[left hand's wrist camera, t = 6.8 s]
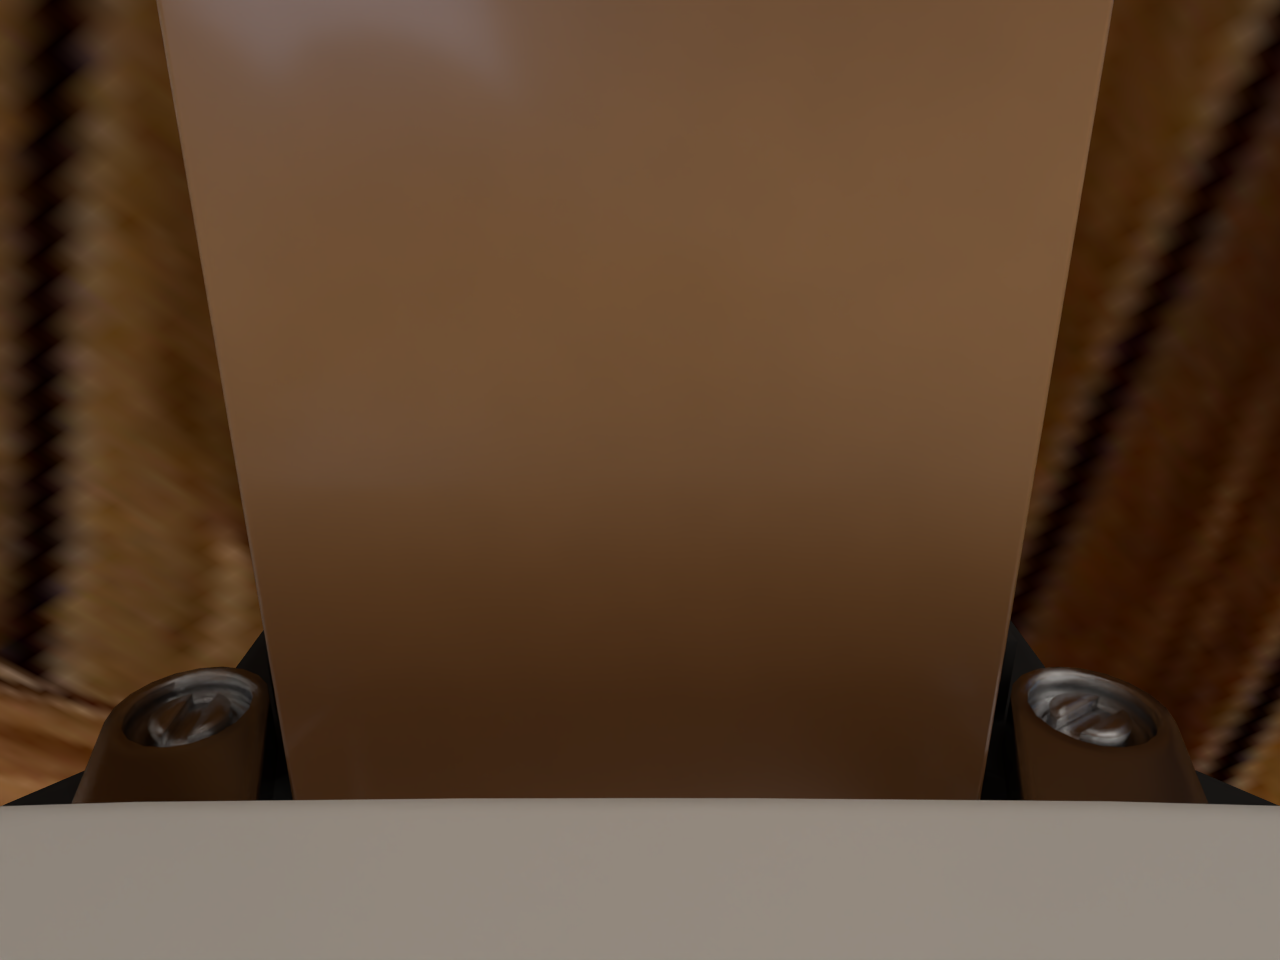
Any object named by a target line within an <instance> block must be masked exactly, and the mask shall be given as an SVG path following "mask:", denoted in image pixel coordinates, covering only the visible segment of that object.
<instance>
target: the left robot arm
mask: <svg viewBox="0 0 1280 960" xmlns="http://www.w3.org/2000/svg"><path fill="white" fill-rule="evenodd" d="M0 960H1280V806H1278V805H1276V804H1273V803H1271V802H1269V801H1266V800H1264V799H1262V798H1259V797H1257V796H1255V795H1252V794H1250V793H1248V792H1245V791H1243V790H1240V789H1238V788H1236V787H1233V786H1231V785H1229V784H1226V783H1224V782H1222V781H1219V780H1217V779H1215V778H1212V777H1210V776H1208V775H1205V774H1203V773H1201V772H1198V771H1196V770H1195V769H1194V766H1193V764H1192V761H1191V759H1190V756H1189V754H1188V751H1187V749H1186V746H1185V744H1184V742H1183V739H1182V737H1181V734H1180V732H1179V729H1178V727H1177V724H1176V722H1175V720H1174V719H1173V717H1172V716H1171V714H1170V713H1169V711H1168V710H1167V708H1166V707H1164V706H1163V705H1162V704H1161V703H1160V702H1158V701H1157V700H1156V699H1155V698H1154V697H1152V696H1151V695H1150V694H1148V693H1147V692H1145V691H1143V690H1141V689H1139V688H1138V687H1136V686H1134V685H1132V684H1130V683H1128V682H1126V681H1123V680H1120V679H1118V678H1115V677H1112V676H1110V675H1107V674H1104V673H1099V672H1095V671H1090V670H1086V669H1081V668H1069V667H1050V668H1045V667H1044V665H1043V664H1042V663H1041V661H1040V660H1039V659H1038V657H1037V656H1036V654H1035V653H1034V652H1033V650H1032V649H1031V648H1030V646H1029V645H1028V644H1027V642H1026V641H1025V639H1024V638H1023V637H1022V635H1021V634H1020V633H1019V631H1018V630H1017V629H1016V627H1015V626H1014V624H1013V623H1012V622H1011V620H1010V624H1009V630H1008V636H1007V642H1006V647H1005V653H1004V659H1003V665H1002V671H1001V677H1000V683H999V689H998V695H997V701H996V707H995V713H994V719H993V725H992V731H991V737H990V743H989V749H988V755H987V761H986V767H985V773H984V779H983V785H982V791H981V797H980V800H895V799H779V798H463V799H367V800H293V798H292V792H291V786H290V780H289V774H288V768H287V763H286V757H285V751H284V745H283V739H282V733H281V727H280V722H279V716H278V710H277V704H276V698H275V692H274V687H273V681H272V675H271V669H270V663H269V657H268V651H267V646H266V640H265V634H264V630H263V632H262V633H261V634H260V636H259V637H258V638H257V640H256V641H255V642H254V644H253V645H252V647H251V648H250V649H249V651H248V652H247V653H246V655H245V656H244V657H243V659H242V660H241V662H240V663H239V664H238V666H237V667H236V668H230V667H211V668H199V669H194V670H190V671H185V672H181V673H176V674H173V675H170V676H168V677H165V678H162V679H160V680H157V681H154V682H152V683H150V684H148V685H146V686H144V687H142V688H141V689H139V690H137V691H135V692H133V693H132V694H130V695H129V696H128V697H126V698H125V699H124V700H123V701H122V702H120V703H119V704H118V705H117V706H116V707H114V708H113V710H112V711H111V713H110V714H109V716H108V717H107V719H106V720H105V722H104V724H103V727H102V729H101V732H100V734H99V737H98V739H97V742H96V744H95V746H94V749H93V751H92V754H91V756H90V759H89V761H88V764H87V766H86V769H85V771H83V772H80V773H78V774H76V775H73V776H71V777H69V778H66V779H64V780H62V781H59V782H57V783H55V784H52V785H50V786H47V787H45V788H43V789H40V790H38V791H36V792H33V793H31V794H29V795H26V796H24V797H22V798H19V799H17V800H15V801H12V802H10V803H7V804H5V805H3V806H0Z"/></svg>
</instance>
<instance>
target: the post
mask: <svg viewBox="0 0 1280 960" xmlns="http://www.w3.org/2000/svg"><path fill="white" fill-rule="evenodd" d="M156 2H157V7H158V13H159V19H160V25H161V31H162V37H163V43H164V48H165V54H166V60H167V66H168V72H169V78H170V84H171V89H172V95H173V101H174V107H175V113H176V119H177V125H178V130H179V136H180V142H181V148H182V154H183V160H184V166H185V171H186V177H187V183H188V189H189V195H190V201H191V206H192V212H193V218H194V224H195V230H196V236H197V242H198V247H199V253H200V259H201V265H202V271H203V277H204V283H205V288H206V294H207V300H208V306H209V312H210V318H211V324H212V329H213V335H214V341H215V347H216V353H217V359H218V365H219V370H220V376H221V382H222V388H223V394H224V400H225V406H226V411H227V417H228V423H229V429H230V435H231V441H232V447H233V452H234V458H235V464H236V470H237V476H238V482H239V487H240V493H241V499H242V505H243V511H244V517H245V523H246V528H247V534H248V540H249V546H250V552H251V558H252V564H253V569H254V575H255V581H256V587H257V593H258V599H259V605H260V610H261V616H262V622H263V628H264V634H265V640H266V646H267V651H268V657H269V663H270V669H271V675H272V681H273V687H274V692H275V698H276V704H277V710H278V716H279V722H280V727H281V733H282V739H283V745H284V751H285V757H286V763H287V768H288V774H289V780H290V786H291V792H292V798H293V800H367V799H463V798H779V799H895V800H980V797H981V791H982V785H983V779H984V773H985V767H986V761H987V755H988V749H989V743H990V737H991V731H992V725H993V719H994V713H995V707H996V701H997V695H998V689H999V683H1000V677H1001V671H1002V665H1003V659H1004V653H1005V647H1006V642H1007V636H1008V630H1009V624H1010V618H1011V612H1012V606H1013V600H1014V594H1015V588H1016V582H1017V576H1018V570H1019V564H1020V558H1021V552H1022V546H1023V540H1024V534H1025V528H1026V522H1027V516H1028V510H1029V504H1030V498H1031V492H1032V486H1033V480H1034V474H1035V468H1036V462H1037V456H1038V450H1039V444H1040V438H1041V432H1042V426H1043V420H1044V415H1045V409H1046V403H1047V397H1048V391H1049V385H1050V379H1051V373H1052V367H1053V361H1054V355H1055V349H1056V343H1057V337H1058V331H1059V325H1060V319H1061V313H1062V307H1063V301H1064V295H1065V289H1066V283H1067V277H1068V271H1069V265H1070V259H1071V253H1072V247H1073V241H1074V235H1075V229H1076V223H1077V217H1078V211H1079V205H1080V199H1081V193H1082V187H1083V182H1084V176H1085V170H1086V164H1087V158H1088V152H1089V146H1090V140H1091V134H1092V128H1093V122H1094V116H1095V110H1096V104H1097V98H1098V92H1099V86H1100V80H1101V74H1102V68H1103V62H1104V56H1105V50H1106V44H1107V38H1108V32H1109V26H1110V20H1111V14H1112V8H1113V2H1114V0H156Z"/></svg>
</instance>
